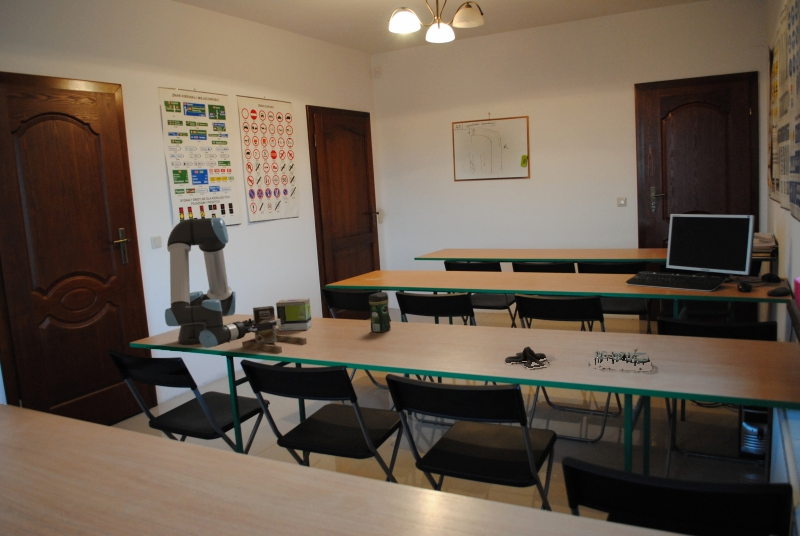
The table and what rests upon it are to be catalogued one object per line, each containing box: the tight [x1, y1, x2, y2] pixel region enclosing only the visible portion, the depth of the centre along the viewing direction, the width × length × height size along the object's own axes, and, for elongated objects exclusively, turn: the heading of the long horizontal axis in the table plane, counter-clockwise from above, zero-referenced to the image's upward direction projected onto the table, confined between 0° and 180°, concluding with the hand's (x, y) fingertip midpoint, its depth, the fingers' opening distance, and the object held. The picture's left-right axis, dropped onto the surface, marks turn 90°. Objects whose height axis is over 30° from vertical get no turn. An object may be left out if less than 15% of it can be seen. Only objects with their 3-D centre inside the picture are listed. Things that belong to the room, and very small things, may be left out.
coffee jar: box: [368, 291, 391, 334], centre depth 280 cm, size 10×8×19 cm
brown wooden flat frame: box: [241, 333, 308, 354], centre depth 264 cm, size 24×17×2 cm
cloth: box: [504, 346, 547, 368], centre depth 219 cm, size 22×19×6 cm
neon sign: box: [593, 350, 651, 366], centre depth 215 cm, size 21×4×29 cm
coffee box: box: [252, 305, 277, 344], centre depth 266 cm, size 9×6×16 cm
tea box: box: [275, 297, 313, 332], centre depth 295 cm, size 15×10×15 cm, turn 84°
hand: (271, 320), depth 269 cm, fingers closed on coffee box, 10 cm apart
